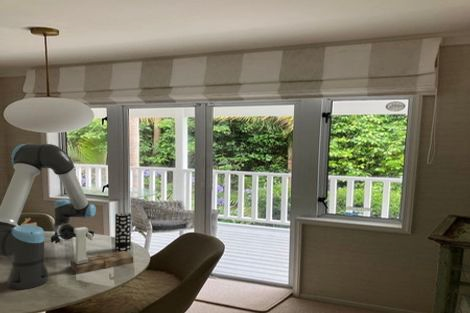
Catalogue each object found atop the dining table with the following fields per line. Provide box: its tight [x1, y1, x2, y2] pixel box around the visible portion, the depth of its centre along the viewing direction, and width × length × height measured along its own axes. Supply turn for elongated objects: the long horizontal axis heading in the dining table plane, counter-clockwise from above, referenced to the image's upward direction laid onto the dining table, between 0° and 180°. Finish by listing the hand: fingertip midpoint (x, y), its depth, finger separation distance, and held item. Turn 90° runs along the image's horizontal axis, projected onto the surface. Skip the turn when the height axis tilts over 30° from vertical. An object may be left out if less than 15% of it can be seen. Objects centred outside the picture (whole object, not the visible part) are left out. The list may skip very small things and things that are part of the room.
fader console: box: [70, 251, 134, 275], centre depth 169 cm, size 26×12×3 cm, turn 129°
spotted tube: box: [114, 212, 132, 253], centre depth 194 cm, size 8×8×20 cm
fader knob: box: [73, 226, 89, 264], centre depth 163 cm, size 5×6×16 cm
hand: (77, 239), depth 169 cm, fingers open, 13 cm apart
